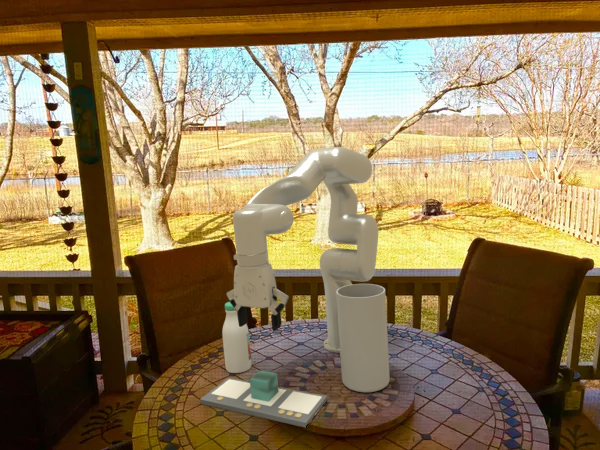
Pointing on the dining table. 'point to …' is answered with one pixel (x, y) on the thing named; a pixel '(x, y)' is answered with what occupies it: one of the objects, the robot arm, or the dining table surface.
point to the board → (265, 402)
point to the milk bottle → (235, 342)
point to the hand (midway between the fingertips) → (259, 326)
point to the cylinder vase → (363, 337)
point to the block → (264, 386)
